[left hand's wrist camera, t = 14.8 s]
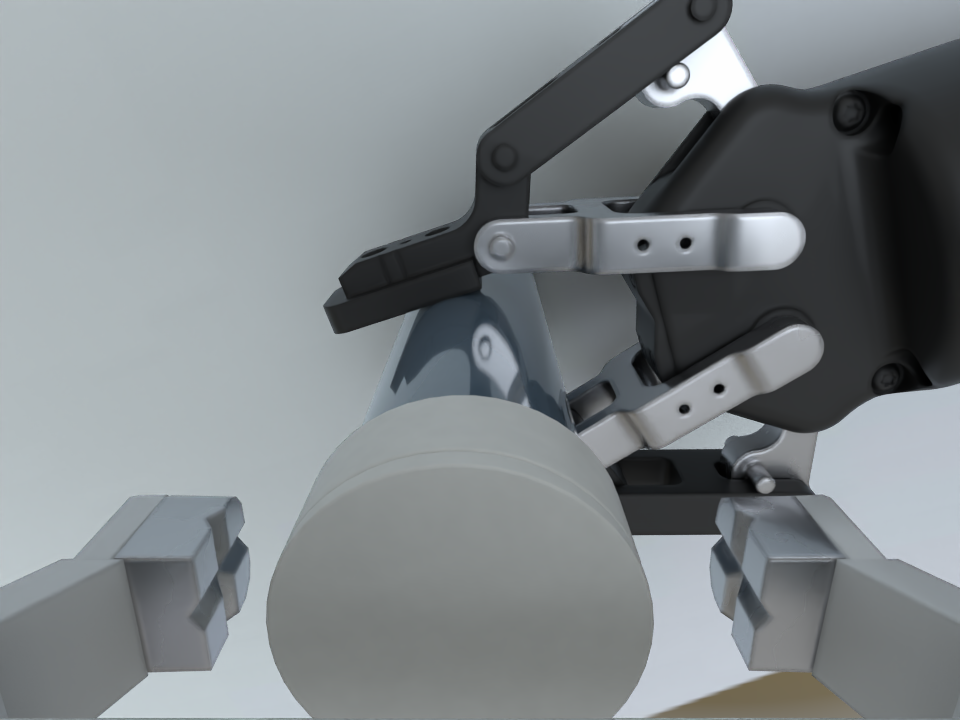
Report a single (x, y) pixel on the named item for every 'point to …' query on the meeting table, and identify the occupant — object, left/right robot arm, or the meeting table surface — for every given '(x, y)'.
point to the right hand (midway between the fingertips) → (373, 395)
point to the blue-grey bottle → (477, 351)
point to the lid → (461, 573)
